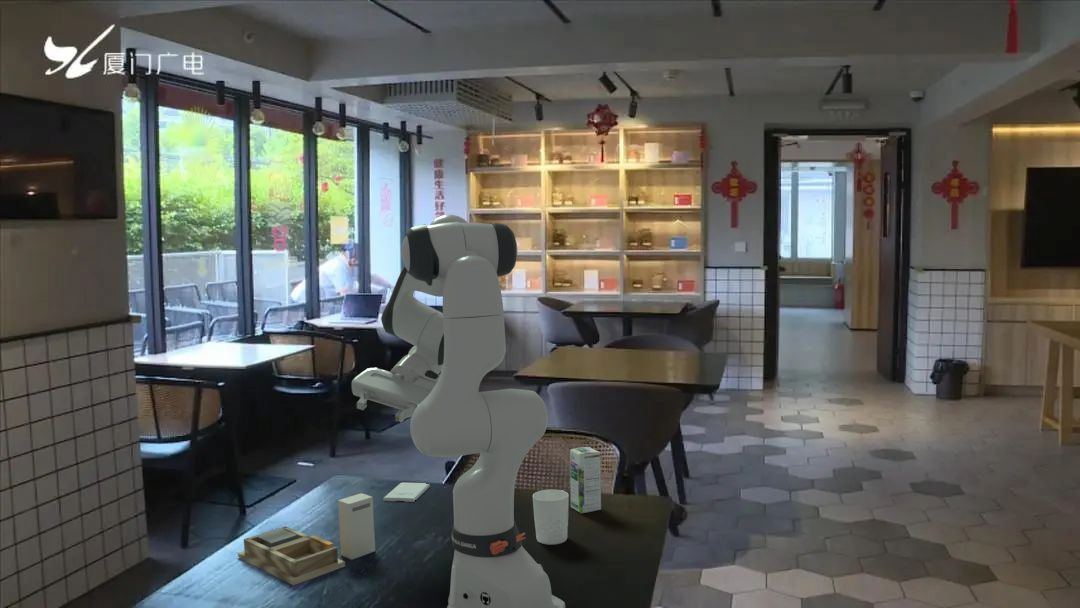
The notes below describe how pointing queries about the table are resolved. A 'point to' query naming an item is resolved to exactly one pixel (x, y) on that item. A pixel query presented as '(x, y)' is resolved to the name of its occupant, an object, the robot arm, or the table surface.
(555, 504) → the white cup
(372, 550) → the white carton
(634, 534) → the table surface
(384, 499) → the external hard drive
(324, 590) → the table surface
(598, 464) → the syrup box
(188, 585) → the table surface
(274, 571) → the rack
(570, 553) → the table surface
